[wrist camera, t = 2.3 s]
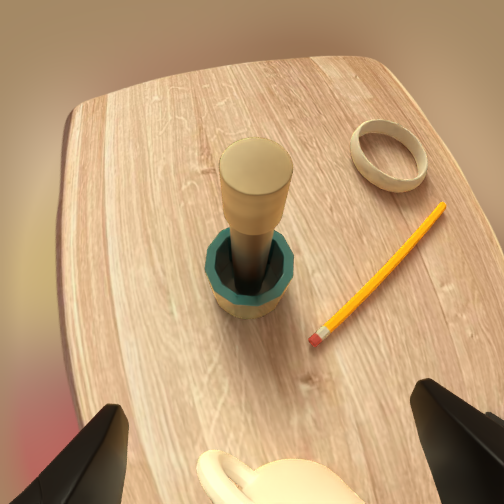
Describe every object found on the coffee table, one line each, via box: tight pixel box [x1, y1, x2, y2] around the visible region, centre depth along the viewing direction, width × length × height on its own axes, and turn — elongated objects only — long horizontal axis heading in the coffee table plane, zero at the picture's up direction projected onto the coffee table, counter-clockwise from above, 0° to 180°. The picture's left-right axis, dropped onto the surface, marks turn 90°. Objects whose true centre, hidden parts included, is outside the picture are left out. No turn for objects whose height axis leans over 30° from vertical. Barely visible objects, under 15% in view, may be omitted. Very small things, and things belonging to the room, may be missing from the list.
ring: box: [350, 119, 428, 193], centre depth 27 cm, size 8×8×2 cm
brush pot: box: [205, 227, 294, 319], centre depth 21 cm, size 5×5×5 cm
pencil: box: [308, 202, 446, 347], centre depth 24 cm, size 1×18×1 cm, turn 130°
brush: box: [219, 137, 293, 296], centre depth 17 cm, size 2×2×14 cm
